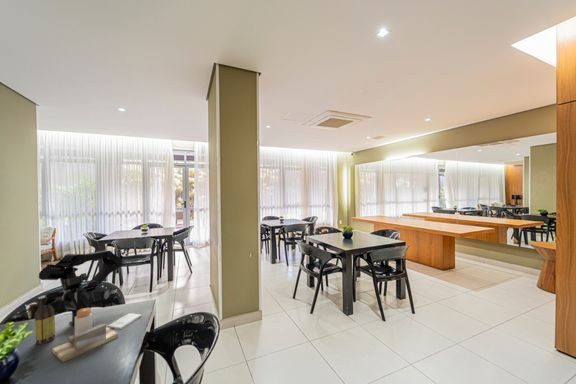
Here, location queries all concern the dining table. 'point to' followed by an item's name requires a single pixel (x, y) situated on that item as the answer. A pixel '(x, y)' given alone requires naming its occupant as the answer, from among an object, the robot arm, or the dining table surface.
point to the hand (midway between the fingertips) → (77, 307)
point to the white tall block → (83, 320)
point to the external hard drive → (124, 321)
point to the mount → (84, 342)
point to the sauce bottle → (44, 322)
